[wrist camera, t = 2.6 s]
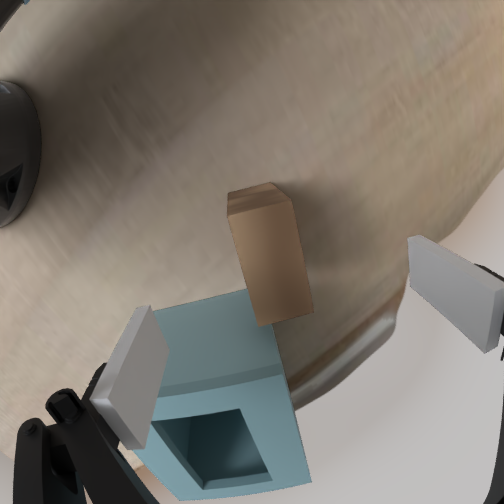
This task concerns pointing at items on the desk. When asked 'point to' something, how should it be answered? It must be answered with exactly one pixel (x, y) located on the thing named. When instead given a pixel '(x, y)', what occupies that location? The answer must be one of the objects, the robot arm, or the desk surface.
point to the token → (269, 253)
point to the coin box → (222, 405)
